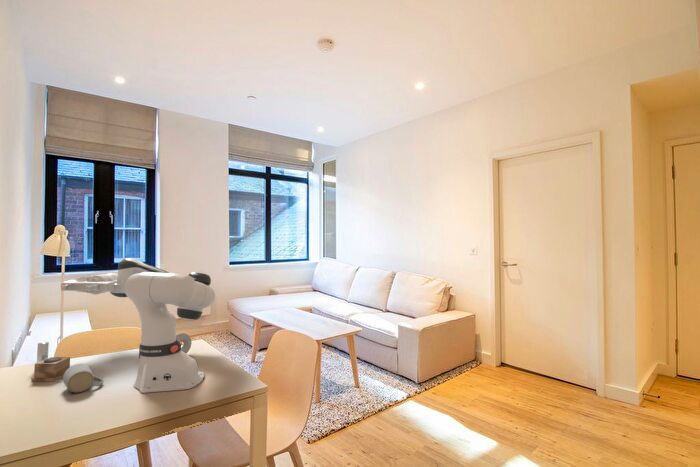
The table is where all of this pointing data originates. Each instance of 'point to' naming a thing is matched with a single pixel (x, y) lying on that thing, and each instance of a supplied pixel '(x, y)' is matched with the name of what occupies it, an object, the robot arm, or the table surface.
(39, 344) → the brushed metal cylinder
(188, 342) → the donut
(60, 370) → the walnut stand
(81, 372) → the ceramic mug
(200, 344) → the table surface
